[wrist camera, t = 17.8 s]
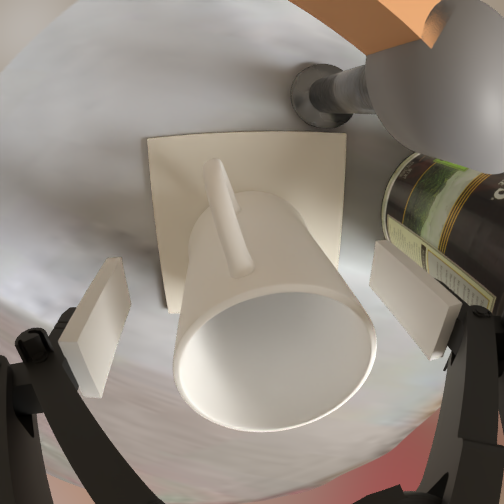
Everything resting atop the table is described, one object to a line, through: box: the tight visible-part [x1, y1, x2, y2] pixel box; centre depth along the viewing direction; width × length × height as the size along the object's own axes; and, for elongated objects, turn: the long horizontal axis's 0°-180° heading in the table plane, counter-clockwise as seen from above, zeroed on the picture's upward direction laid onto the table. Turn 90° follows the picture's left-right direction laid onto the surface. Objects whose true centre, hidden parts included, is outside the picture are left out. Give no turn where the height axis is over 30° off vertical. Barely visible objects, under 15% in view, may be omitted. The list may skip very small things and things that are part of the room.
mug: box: [173, 158, 377, 432], centre depth 16 cm, size 12×8×12 cm
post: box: [291, 64, 376, 128], centre depth 14 cm, size 4×4×12 cm
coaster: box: [147, 131, 346, 314], centre depth 22 cm, size 13×13×1 cm
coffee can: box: [381, 152, 504, 316], centre depth 17 cm, size 10×10×14 cm
